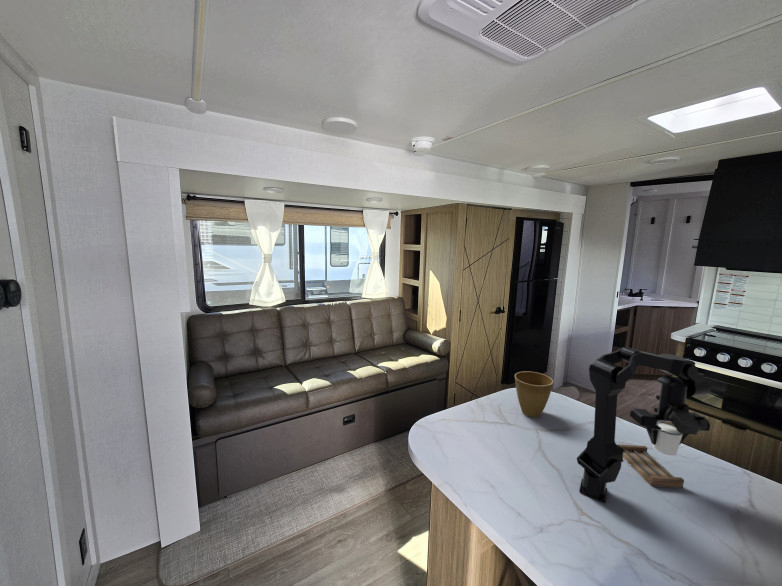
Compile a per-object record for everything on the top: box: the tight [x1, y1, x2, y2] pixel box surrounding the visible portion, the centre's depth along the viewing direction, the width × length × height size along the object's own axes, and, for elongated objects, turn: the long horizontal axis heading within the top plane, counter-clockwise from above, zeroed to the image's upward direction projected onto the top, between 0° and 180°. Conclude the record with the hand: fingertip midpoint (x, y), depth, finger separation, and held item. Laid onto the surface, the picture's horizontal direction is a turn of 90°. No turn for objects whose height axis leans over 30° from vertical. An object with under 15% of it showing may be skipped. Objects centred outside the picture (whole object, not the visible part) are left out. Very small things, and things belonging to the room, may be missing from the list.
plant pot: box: [514, 370, 554, 418], centre depth 134 cm, size 15×15×16 cm
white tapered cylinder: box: [651, 422, 683, 456], centre depth 95 cm, size 7×7×7 cm
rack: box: [617, 443, 685, 489], centre depth 102 cm, size 16×9×3 cm, turn 175°
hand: (664, 444), depth 96 cm, fingers closed on white tapered cylinder, 6 cm apart
